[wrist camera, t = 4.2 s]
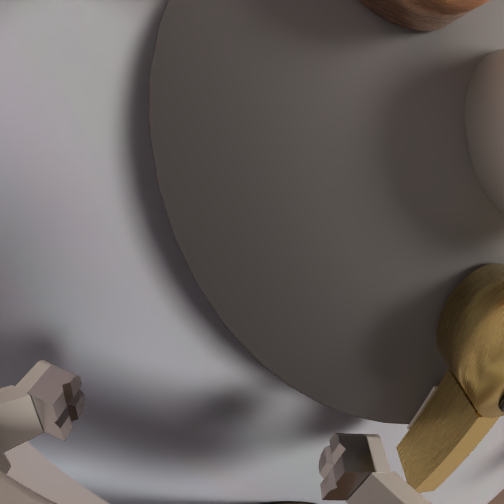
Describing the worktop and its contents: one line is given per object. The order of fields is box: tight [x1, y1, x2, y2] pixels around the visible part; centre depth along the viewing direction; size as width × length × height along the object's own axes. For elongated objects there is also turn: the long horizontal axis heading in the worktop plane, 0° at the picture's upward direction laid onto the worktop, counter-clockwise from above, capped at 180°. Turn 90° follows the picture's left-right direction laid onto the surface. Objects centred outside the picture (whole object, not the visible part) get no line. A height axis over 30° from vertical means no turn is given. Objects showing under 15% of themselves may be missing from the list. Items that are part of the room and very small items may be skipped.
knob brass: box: [396, 263, 504, 493], centre depth 8 cm, size 8×4×3 cm, turn 169°
